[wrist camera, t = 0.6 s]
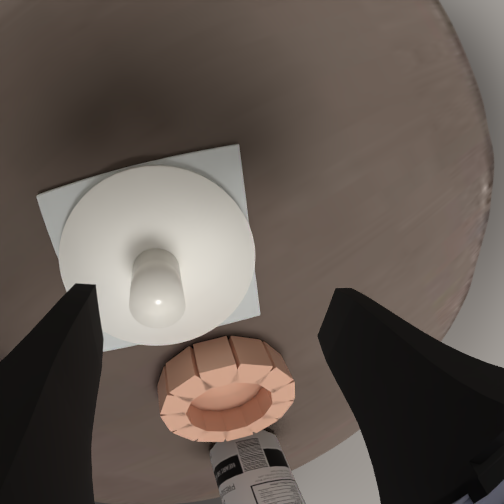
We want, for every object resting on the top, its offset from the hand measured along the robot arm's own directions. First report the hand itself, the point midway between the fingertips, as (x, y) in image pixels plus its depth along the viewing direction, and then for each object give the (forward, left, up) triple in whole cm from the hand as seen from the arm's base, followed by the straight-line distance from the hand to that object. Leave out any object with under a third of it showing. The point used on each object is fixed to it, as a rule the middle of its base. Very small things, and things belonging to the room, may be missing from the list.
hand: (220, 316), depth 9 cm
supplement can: (-1, -29, -10) cm, 31 cm away
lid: (-3, -3, -10) cm, 11 cm away
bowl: (-1, -16, -10) cm, 19 cm away
